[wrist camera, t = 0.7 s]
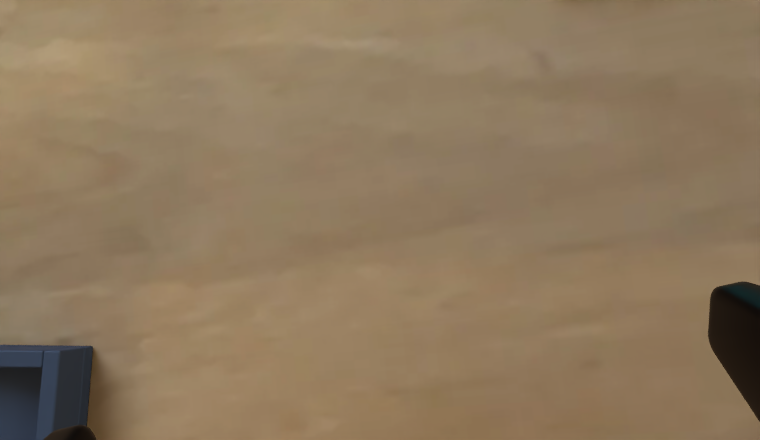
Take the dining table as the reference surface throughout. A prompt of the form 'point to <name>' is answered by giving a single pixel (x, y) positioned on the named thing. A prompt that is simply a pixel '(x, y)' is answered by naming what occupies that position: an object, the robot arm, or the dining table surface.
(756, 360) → the robot arm
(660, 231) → the dining table surface
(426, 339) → the dining table surface
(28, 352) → the tray
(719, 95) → the dining table surface
